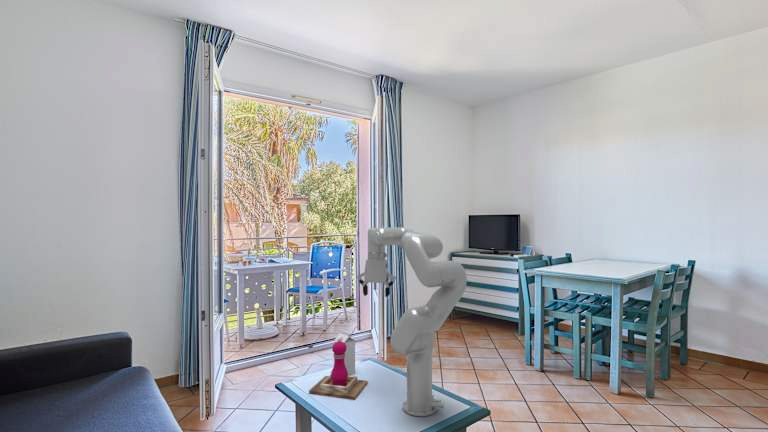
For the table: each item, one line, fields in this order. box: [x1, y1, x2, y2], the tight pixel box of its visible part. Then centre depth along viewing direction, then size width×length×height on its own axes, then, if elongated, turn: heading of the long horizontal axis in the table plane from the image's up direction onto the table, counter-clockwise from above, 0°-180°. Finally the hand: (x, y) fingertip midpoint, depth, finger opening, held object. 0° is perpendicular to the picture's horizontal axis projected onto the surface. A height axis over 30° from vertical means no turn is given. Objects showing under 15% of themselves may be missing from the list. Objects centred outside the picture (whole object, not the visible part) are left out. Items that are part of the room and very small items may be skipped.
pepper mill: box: [330, 338, 348, 387], centre depth 166 cm, size 7×7×20 cm
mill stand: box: [308, 374, 369, 401], centre depth 166 cm, size 20×16×3 cm
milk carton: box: [333, 330, 356, 376], centre depth 182 cm, size 7×7×19 cm
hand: (376, 295), depth 170 cm, fingers open, 9 cm apart
